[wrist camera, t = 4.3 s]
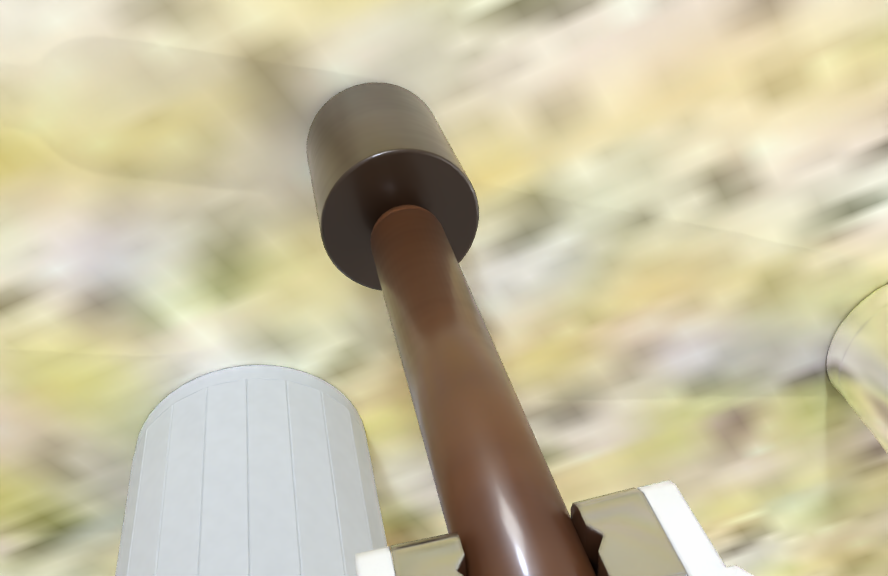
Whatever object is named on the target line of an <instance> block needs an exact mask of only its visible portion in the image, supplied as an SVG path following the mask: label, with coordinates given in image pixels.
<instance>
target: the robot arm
mask: <svg viewBox="0 0 888 576" xmlns="http://www.w3.org/2000/svg"><path fill="white" fill-rule="evenodd" d="M571 520H572V523H573V525H574V527H575V530H576V532H577V534H578V536H579V539H580V541H581V543H582V546H583V548H584V550H585V552H586V555H587V556H588V558H589V561H590V563H591V565H592V567H593V570H594V572H595V574H596V576H754V575H752V574H751V573H749V572H747V571H745V570H744V569H742V568H740V567H739V566H737V565H734V566H729V567H726V566H725V564H724V562H723V561H722V559H721V557H720V556H719V554H718V553H717V551H716V549H715V548H714V546H713V544H712V543H711V541H710V539H709V538H708V536H707V535H706V533H705V531H704V530H703V528H702V526H701V525H700V523H699V522H698V520H697V518H696V517H695V515H694V513H693V512H692V510H691V509H690V507H689V505H688V504H687V502H686V500H685V499H684V497H683V496H682V494H681V492H680V491H679V489H678V487H677V486H676V484H674V483H673V482H672V481H670V480H667V481H663V482H659V483H655V484H650V485H646V486H642V487H638V488H631V489H627V490H623V491H619V492H615V493H611V494H607V495H603V496H599V497H595V498H591V499H587V500H583V501H579V502H575V503H573V504H572V507H571ZM391 552H392V555H391ZM392 558H393V560H392ZM393 563H394V564H393ZM355 567H356V574H357V576H467V569H466V562H465V555H464V551H463V548H462V544H461V541H460V538H459V535H458V532H454V533H449V534H444V535H440V536H435V537H430V538H425V539H421V540H416V541H411V542H406V543H401V544H397V545H392V546H391V551H390V547H389V546H388V547H383V548H379V549H374V550H370V551H366V552H361V553H357V554H355ZM394 568H395V569H394ZM395 573H396V574H395Z"/></svg>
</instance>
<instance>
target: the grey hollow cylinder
mask: <svg viewBox="0 0 888 576" xmlns="http://www.w3.org/2000/svg"><path fill="white" fill-rule="evenodd" d="M383 547H387V542H386V537H385V531H384V526H383V521H382V516H381V510H380V505H379V500H378V495H377V490H376V484H375V479H374V474H373V469H372V463H371V458H370V453H369V449H368V444H367V438H366V433H365V429H364V426H363V422H362V420H361V418H360V416H359V414H358V412H357V410H356V409H355V407H354V406H353V405H352V403H351V402H350V401H349V400H348V399H347V398H346V397H345V396H344V395H343V394H342V393H341V392H340V391H339V390H337V389H336V388H335V387H333V386H332V385H331V384H329V383H327V382H325V381H324V380H322V379H320V378H318V377H316V376H313V375H311V374H308V373H306V372H303V371H299V370H295V369H292V368H286V367H280V366H270V365H249V366H239V367H232V368H226V369H222V370H219V371H215V372H211V373H209V374H206V375H203V376H201V377H198V378H196V379H194V380H192V381H190V382H188V383H186V384H184V385H182V386H181V387H179V388H178V389H176V390H175V391H173V392H172V393H170V394H169V395H168V396H167V397H166V398H165V399H163V400H162V401H161V402H160V403H159V404H158V405H157V406H156V408H155V409H154V410H153V411H152V412H151V413H150V415H149V416H148V418H147V419H146V421H145V423H144V424H143V426H142V429H141V431H140V433H139V436H138V440H137V444H136V449H135V453H134V457H133V462H132V468H131V475H130V481H129V488H128V495H127V501H126V508H125V515H124V521H123V528H122V534H121V541H120V548H119V554H118V561H117V568H116V574H115V576H357V574H356V567H355V554H357V553H361V552H366V551H370V550H374V549H379V548H383Z"/></svg>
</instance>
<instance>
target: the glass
mask: <svg viewBox="0 0 888 576" xmlns="http://www.w3.org/2000/svg"><path fill="white" fill-rule="evenodd" d="M827 373H828V377H829V379H830V381H831V383H832V385H833V386H834V387H835V389H836V390H837V391H838V392H840V393H841V394H842V395H843V396H844V398H845V400H846V401H847V402H848V404H849V405H850V406H851V408H852V409H853V410H854V412H855V413H856V414H857V415H858V417H859V418H860V419H861V421H862V422H863V423H864V424H865V426H866V427H867V428H868V429H869V431H870V432H871V433H872V435H873V436H874V437H875V438H876V440H877V441H878V442H879V444H880V445H881V446H882V447H883V449H884V450H885V451H886V453H887V454H888V284H886V285H884V286H882V287H881V288H879V289H878V290H876V291H874V292H873V293H872V294H870V295H869V296H868V297H866V298H865V299H864V300H863V301H862V302H860V303H859V304H858V305H857V306H856V307H855V308H854V309H853V310H852V311H851V312H850V313H849V315H848V316H847V317H846V318H845V319H844V321H843V322H842V324H841V325H840V326H839V328H838V330H837V331H836V333H835V335H834V337H833V339H832V342H831V344H830V347H829V350H828V355H827Z"/></svg>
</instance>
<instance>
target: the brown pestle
mask: <svg viewBox="0 0 888 576" xmlns="http://www.w3.org/2000/svg"><path fill="white" fill-rule="evenodd" d="M307 158H308V164H309V170H310V175H311V181H312V187H313V192H314V198H315V204H316V209H317V215H318V221H319V226H320V232H321V237H322V241H323V245H324V248H325V250H326V252H327V254H328V256H329V258H330V259H331V261H332V262H333V264H334V265H335V266H336V267H337V268H338V269H339V270H340V271H341V272H342V273H343V274H344V275H346V276H347V277H348V278H350V279H351V280H353V281H355V282H357V283H359V284H361V285H363V286H366V287H369V288H372V289H376V290H381V291H382V292H383V296H384V299H385V303H386V306H387V310H388V314H389V317H390V321H391V325H392V328H393V332H394V336H395V339H396V343H397V347H398V350H399V354H400V358H401V361H402V365H403V368H404V372H405V376H406V379H407V383H408V387H409V390H410V394H411V398H412V401H413V405H414V409H415V412H416V416H417V419H418V423H419V427H420V430H421V434H422V438H423V441H424V445H425V449H426V452H427V456H428V460H429V463H430V467H431V471H432V474H433V478H434V481H435V485H436V489H437V492H438V496H439V500H440V503H441V507H442V511H443V514H444V518H445V522H446V525H447V529H448V533H454V532H458V535H459V538H460V541H461V544H462V548H463V551H464V555H465V562H466V569H467V576H596V574H595V572H594V570H593V567H592V565H591V563H590V561H589V558H588V556H587V555H586V552H585V550H584V548H583V546H582V543H581V541H580V539H579V536H578V534H577V532H576V530H575V527H574V525H573V523H572V520H571V518H570V515H569V513H568V511H567V509H566V506H565V504H564V502H563V499H562V497H561V495H560V493H559V490H558V488H557V486H556V484H555V481H554V479H553V477H552V475H551V472H550V470H549V468H548V465H547V463H546V461H545V459H544V456H543V454H542V452H541V450H540V447H539V445H538V443H537V441H536V438H535V436H534V434H533V431H532V429H531V427H530V425H529V422H528V420H527V418H526V416H525V413H524V411H523V409H522V407H521V404H520V402H519V400H518V397H517V395H516V393H515V391H514V388H513V386H512V384H511V382H510V379H509V377H508V375H507V373H506V370H505V368H504V366H503V363H502V361H501V359H500V357H499V354H498V352H497V350H496V348H495V345H494V343H493V341H492V339H491V336H490V334H489V332H488V329H487V327H486V325H485V323H484V320H483V318H482V316H481V314H480V311H479V309H478V307H477V305H476V302H475V300H474V298H473V295H472V293H471V291H470V289H469V286H468V284H467V282H466V280H465V277H464V275H463V273H462V271H461V268H460V266H459V264H458V263H459V262H460V261H461V260H462V259H463V257H464V256H465V255H466V253H467V252H468V250H469V248H470V247H471V245H472V242H473V240H474V238H475V235H476V231H477V227H478V220H479V207H478V200H477V197H476V193H475V190H474V188H473V186H472V184H471V182H470V180H469V179H468V177H467V175H466V173H465V171H464V170H463V168H462V166H461V164H460V162H459V161H458V159H457V157H456V155H455V153H454V152H453V150H452V148H451V146H450V144H449V143H448V141H447V139H446V137H445V135H444V134H443V132H442V130H441V128H440V126H439V125H438V123H437V121H436V119H435V117H434V116H433V114H432V112H431V111H430V109H429V108H428V106H427V105H426V104H425V103H424V102H423V101H422V100H421V99H420V98H419V97H417V96H416V95H415V94H413V93H412V92H410V91H408V90H406V89H404V88H402V87H399V86H396V85H392V84H387V83H365V84H360V85H356V86H353V87H350V88H348V89H346V90H344V91H342V92H340V93H338V94H337V95H335V96H334V97H333V98H331V99H330V100H329V101H328V102H327V103H326V104H325V105H324V106H323V107H322V108H321V109H320V111H319V112H318V113H317V115H316V117H315V118H314V120H313V122H312V125H311V127H310V130H309V134H308V139H307Z"/></svg>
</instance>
